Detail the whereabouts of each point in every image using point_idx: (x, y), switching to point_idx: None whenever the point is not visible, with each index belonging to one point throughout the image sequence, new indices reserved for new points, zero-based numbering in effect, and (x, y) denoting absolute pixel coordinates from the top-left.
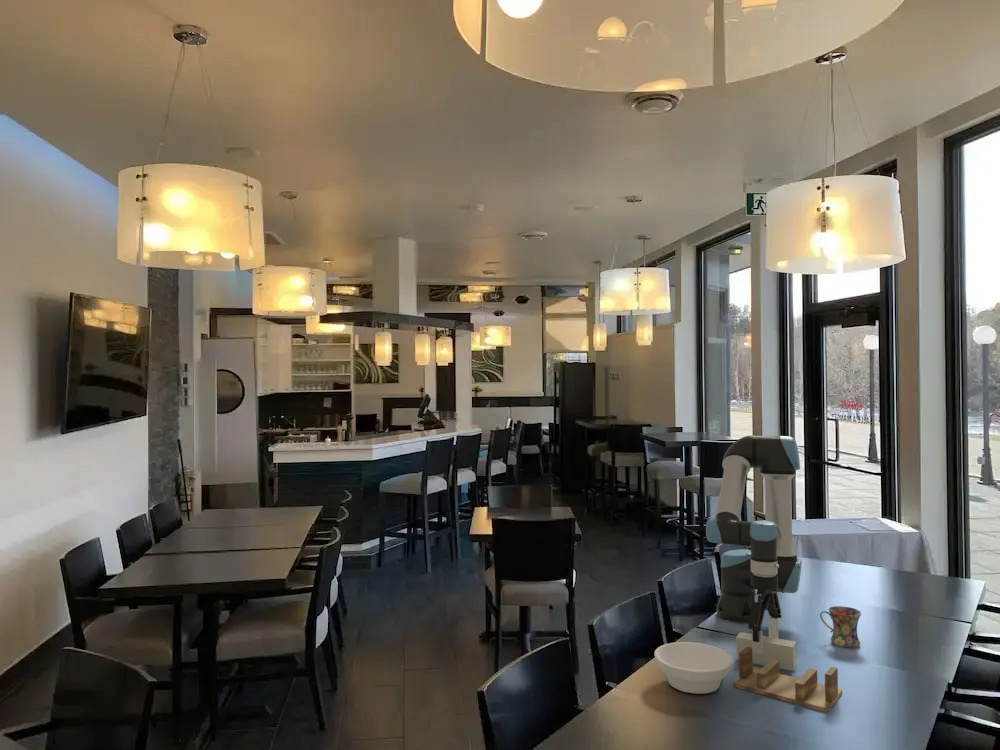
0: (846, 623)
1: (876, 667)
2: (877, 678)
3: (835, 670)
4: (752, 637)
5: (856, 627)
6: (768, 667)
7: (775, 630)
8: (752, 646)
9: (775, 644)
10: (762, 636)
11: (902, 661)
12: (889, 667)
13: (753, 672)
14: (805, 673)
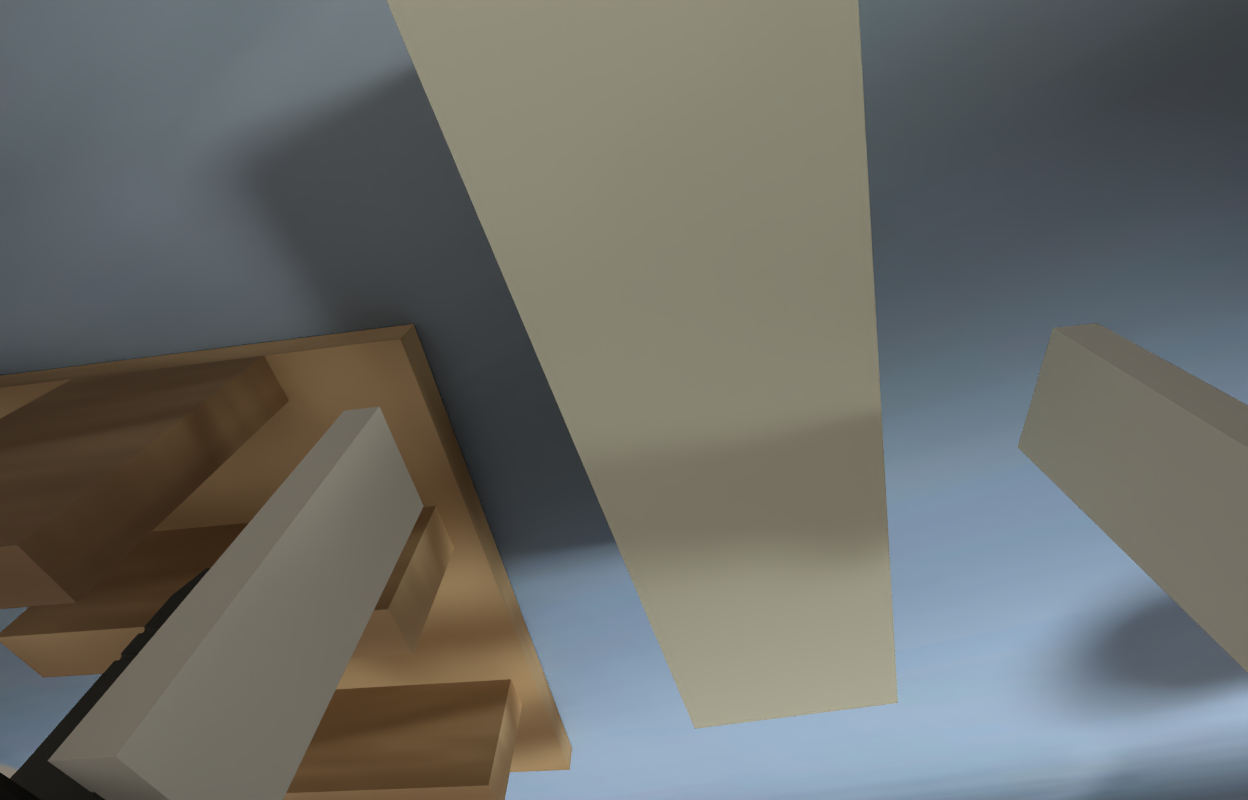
0: None
1: (1054, 757)
2: (884, 781)
3: None
4: (210, 580)
5: None
6: None
7: (1145, 529)
8: (308, 460)
9: (647, 607)
10: (847, 387)
11: (1219, 795)
12: (1086, 782)
13: (293, 405)
14: (377, 793)
